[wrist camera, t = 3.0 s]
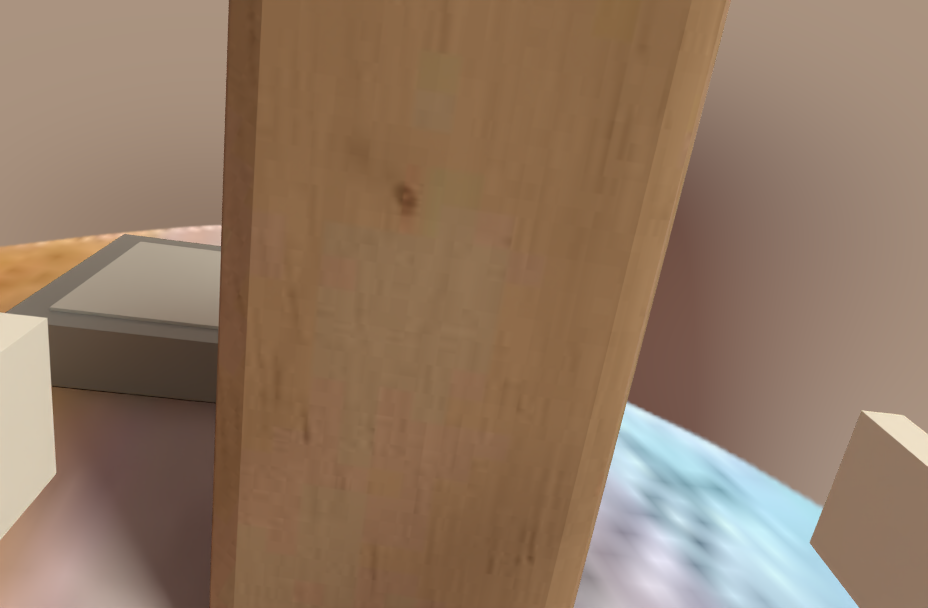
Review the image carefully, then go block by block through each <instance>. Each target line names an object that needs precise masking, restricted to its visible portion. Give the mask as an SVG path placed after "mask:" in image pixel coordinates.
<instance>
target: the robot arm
mask: <svg viewBox="0 0 928 608" xmlns="http://www.w3.org/2000/svg"><path fill="white" fill-rule="evenodd" d="M55 475H56V458H55V441H54V424H53V407H52V389H51V372H50V355H49V338H48V321H47V318H44V317H35V316H26V315H17V314H8V313H0V540H1V539H2V537H3V536H4V535H5V534H6V533H7V531H8V530H9V529H10V528H11V527H12V526H13V524H14V523H15V522H16V521H17V520H18V518H19V517H20V516H21V515H22V514H23V512H24V511H25V510H26V509H27V508H28V507H29V505H30V504H31V503H32V502H33V501H34V499H35V498H36V497H37V496H38V495H39V494H40V492H41V491H42V490H43V489H44V488H45V486H46V485H47V484H48V483H49V482H50V481H51V479H52V478H53V477H54V476H55ZM810 544H811V545H812V547H813V548H814V549H815V550H816V552H817V553H818V554H819V556H820V557H821V558H822V560H823V561H824V562H825V563H826V565H827V566H828V567H829V569H830V570H831V571H832V573H833V574H834V575H835V577H836V578H837V579H838V580H839V582H840V583H841V584H842V586H843V587H844V588H845V590H846V591H847V592H848V593H849V595H850V596H851V597H852V599H853V600H854V601H855V603H856V604H857V605H858V607H859V608H928V434H927V433H925V432H924V431H923V430H922V429H920V428H919V427H918V426H916V425H915V424H914V423H913V422H911V421H910V420H909V419H907V418H906V417H905V416H904V415H897V414H888V413H880V412H870V411H861V413H860V416H859V418H858V421H857V423H856V426H855V428H854V431H853V434H852V436H851V439H850V441H849V444H848V446H847V449H846V451H845V454H844V456H843V459H842V462H841V464H840V467H839V469H838V472H837V475H836V477H835V480H834V482H833V485H832V487H831V490H830V492H829V495H828V497H827V500H826V502H825V505H824V507H823V510H822V513H821V515H820V518H819V520H818V523H817V525H816V528H815V530H814V533H813V536H812V538H811V541H810Z"/></svg>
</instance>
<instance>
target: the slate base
mask: <svg viewBox="0 0 928 608" xmlns="http://www.w3.org/2000/svg"><path fill="white" fill-rule="evenodd" d="M220 264H221V246H214V245H207V244H199V243H191V242H183V241H175V240H167V239H159V238H151V237H143V236H135V235H127V234H124V235H122V236H121V237H119V238H118V239H116V240H115V241H113V242H112V243H110V244H109V245H107V246H106V247H104V248H103V249H101V250H99V251H98V252H96V253H95V254H93V255H92V256H90V257H89V258H87V259H86V260H84V261H83V262H81V263H80V264H78V265H77V266H75V267H74V268H72V269H71V270H69V271H68V272H66V273H65V274H63V275H62V276H60V277H59V278H57V279H56V280H54V281H53V282H51V283H49V284H48V285H46V286H45V287H43V288H42V289H40V290H39V291H37V292H36V293H34V294H33V295H31V296H30V297H28V298H27V299H25V300H24V301H22V302H21V303H19V304H18V305H16V306H15V307H13V308H12V309H10V310H9V311H7V312H6V313H8V314H17V315H26V316H35V317H44V318H47V321H48V338H49V355H50V372H51V386H59V387H68V388H78V389H88V390H98V391H107V392H117V393H127V394H137V395H146V396H156V397H166V398H175V399H185V400H195V401H205V402H214V403H216V388H217V357H218V326H219V295H220Z"/></svg>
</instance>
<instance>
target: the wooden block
mask: <svg viewBox="0 0 928 608" xmlns="http://www.w3.org/2000/svg"><path fill="white" fill-rule="evenodd" d="M730 2H731V0H229V16H228V46H227V49H228V50H227V79H226V108H225V139H224V140H225V141H224V142H225V143H224V172H223V203H222V205H223V206H222V233H221V264H220V295H219V326H218V357H217V388H216V419H215V450H214V481H213V512H212V543H211V574H210V606H209V608H573V607H574V603H575V599H576V596H577V592H578V588H579V584H580V580H581V576H582V572H583V569H584V565H585V561H586V557H587V553H588V549H589V545H590V542H591V538H592V534H593V530H594V526H595V522H596V518H597V515H598V511H599V507H600V503H601V499H602V495H603V491H604V488H605V484H606V480H607V476H608V472H609V468H610V465H611V461H612V457H613V453H614V449H615V445H616V441H617V438H618V434H619V430H620V426H621V422H622V418H623V414H624V411H625V407H626V403H627V399H628V395H629V391H630V387H631V384H632V380H633V376H634V372H635V368H636V364H637V360H638V356H639V352H640V349H641V345H642V341H643V337H644V333H645V330H646V326H647V322H648V318H649V314H650V310H651V307H652V303H653V299H654V295H655V291H656V287H657V283H658V280H659V276H660V272H661V268H662V264H663V260H664V256H665V253H666V249H667V245H668V241H669V237H670V233H671V229H672V226H673V221H674V217H675V214H676V210H677V206H678V203H679V198H680V195H681V191H682V186H683V183H684V179H685V175H686V172H687V167H688V164H689V160H690V156H691V152H692V149H693V144H694V141H695V137H696V133H697V129H698V125H699V122H700V118H701V114H702V110H703V106H704V102H705V98H706V95H707V91H708V87H709V83H710V79H711V75H712V71H713V68H714V64H715V60H716V56H717V52H718V48H719V45H720V41H721V37H722V33H723V29H724V25H725V21H726V18H727V14H728V10H729V6H730Z"/></svg>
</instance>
